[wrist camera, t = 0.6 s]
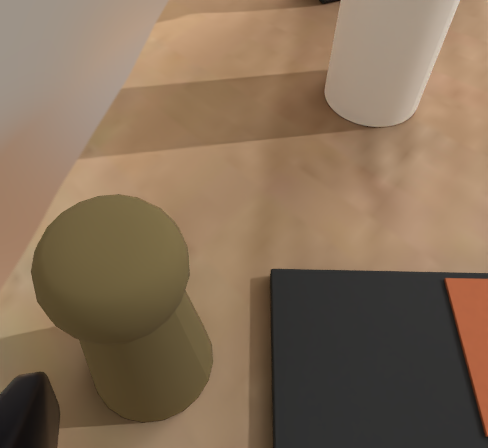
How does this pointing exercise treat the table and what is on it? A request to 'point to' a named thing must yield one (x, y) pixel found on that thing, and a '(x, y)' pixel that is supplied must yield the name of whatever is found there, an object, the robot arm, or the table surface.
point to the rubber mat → (379, 359)
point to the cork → (125, 303)
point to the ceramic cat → (325, 0)
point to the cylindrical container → (384, 57)
